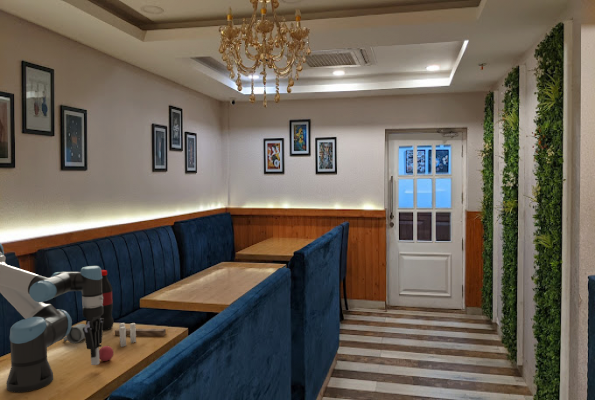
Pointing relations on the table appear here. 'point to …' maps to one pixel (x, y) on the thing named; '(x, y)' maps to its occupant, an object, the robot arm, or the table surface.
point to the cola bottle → (107, 302)
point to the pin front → (123, 336)
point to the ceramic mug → (75, 334)
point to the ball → (105, 353)
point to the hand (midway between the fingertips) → (95, 364)
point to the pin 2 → (132, 332)
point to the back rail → (145, 332)
